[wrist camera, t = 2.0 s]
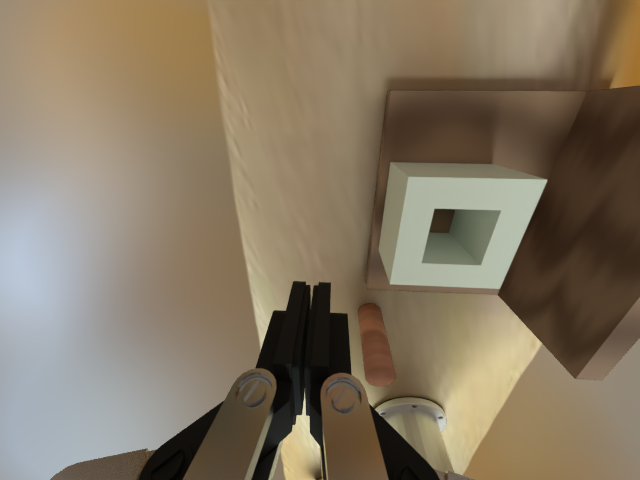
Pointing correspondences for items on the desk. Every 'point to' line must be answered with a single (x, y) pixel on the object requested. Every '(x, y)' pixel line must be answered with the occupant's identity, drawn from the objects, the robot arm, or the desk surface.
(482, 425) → the desk surface
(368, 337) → the dowel
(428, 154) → the brown wooden stand
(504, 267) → the sage block
